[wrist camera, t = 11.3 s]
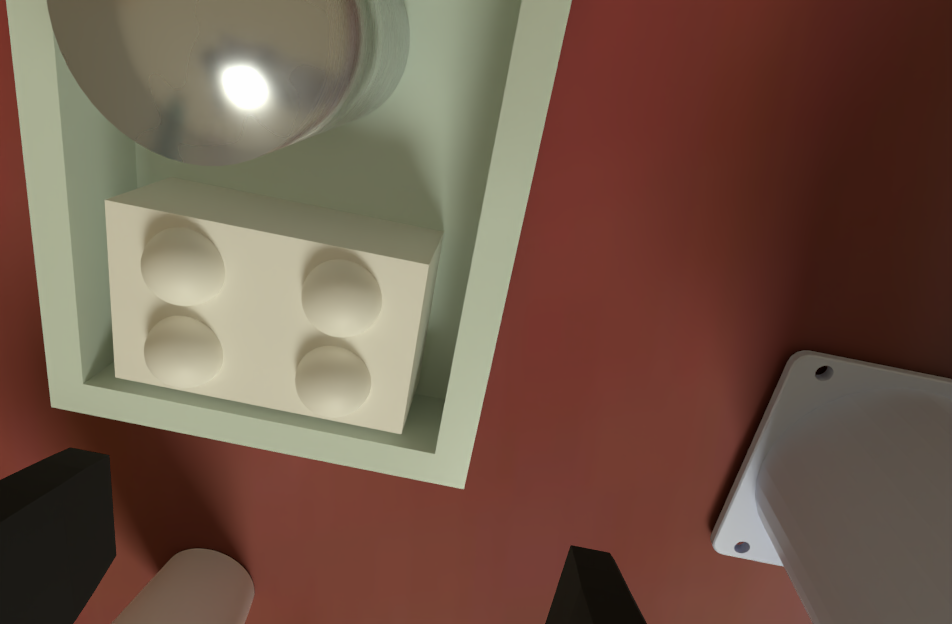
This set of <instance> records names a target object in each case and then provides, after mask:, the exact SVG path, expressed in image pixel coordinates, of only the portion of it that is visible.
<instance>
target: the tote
mask: <svg viewBox="0 0 952 624" xmlns="http://www.w3.org/2000/svg"><path fill="white" fill-rule="evenodd" d="M403 1H404V4H405V8H406V11H407V15H408V21H409V27H410V48H409V55H408V60H407V65H406V68H405V71H404V74H403V76H402V78H401V80H400V82H399V84H398V86H397V87H396V89H395V90H394V92H393V93H392V95H391V96H390V97H389V98H388V99H387V100H386V102H385V103H383V104H382V105H381V106H380V107H379V108H378V109H376V110H375V111H373V112H372V113H370V114H368V115H366V116H364V117H362V118H360V119H357V120H354V121H352V122H349V123H347V124H344V125H341V126H339V127H336V128H333V129H331V130H328V131H326V132H323V133H320V134H318V135H315V136H312V137H310V138H307V139H305V140H302V141H299V142H297V143H294V144H292V145H289V146H286V147H284V148H281V149H278V150H276V151H273V152H271V153H268V154H265V155H263V156H260V157H257V158H255V159H252V160H249V161H245V162H242V163H238V164H232V165H224V166H201V165H194V164H187V163H183V162H180V161H176V160H172V159H169V158H167V157H164V156H162V155H159V154H157V153H155V152H152V151H150V150H149V149H147V148H145V147H143V146H141V145H140V144H138V143H136V142H135V141H133V140H132V139H130V138H129V137H128V136H126V135H125V134H123V133H122V132H121V131H119V130H118V129H117V128H116V127H115V126H114V125H113V124H112V123H110V122H109V121H108V120H107V119H106V118H105V117H104V116H103V115H102V114H101V113H100V112H99V110H98V109H97V108H96V107H95V106H94V105H93V104H92V103H91V101H90V100H89V99H88V97H87V96H86V95H85V93H84V92H83V91H82V89H81V88H80V87H79V85H78V83H77V82H76V80H75V78H74V77H73V75H72V73H71V72H70V70H69V68H68V66H67V64H66V62H65V60H64V58H63V55H62V53H61V51H60V49H59V46H58V43H57V40H56V38H55V35H54V32H53V29H52V25H51V20H50V16H49V12H48V7H47V0H6V5H7V14H8V23H9V32H10V41H11V50H12V59H13V68H14V77H15V86H16V95H17V104H18V113H19V122H20V131H21V140H22V149H23V158H24V167H25V176H26V185H27V194H28V203H29V212H30V221H31V230H32V239H33V248H34V257H35V266H36V275H37V284H38V293H39V302H40V311H41V320H42V329H43V338H44V347H45V356H46V365H47V374H48V383H49V392H50V401H51V407H53V408H58V409H63V410H68V411H73V412H78V413H83V414H88V415H93V416H98V417H103V418H108V419H113V420H118V421H123V422H128V423H134V424H139V425H144V426H149V427H154V428H159V429H164V430H169V431H174V432H179V433H184V434H189V435H194V436H199V437H204V438H209V439H214V440H219V441H224V442H229V443H234V444H239V445H244V446H249V447H254V448H259V449H264V450H269V451H274V452H279V453H284V454H289V455H294V456H299V457H304V458H309V459H314V460H319V461H325V462H330V463H335V464H340V465H345V466H350V467H355V468H360V469H365V470H370V471H375V472H380V473H385V474H390V475H395V476H400V477H405V478H410V479H415V480H420V481H425V482H430V483H435V484H440V485H445V486H450V487H455V488H460V489H464V486H465V481H466V477H467V472H468V468H469V463H470V459H471V454H472V450H473V445H474V441H475V436H476V431H477V427H478V422H479V418H480V413H481V409H482V404H483V400H484V395H485V391H486V386H487V382H488V377H489V373H490V368H491V364H492V359H493V355H494V350H495V346H496V341H497V336H498V332H499V327H500V323H501V318H502V314H503V309H504V305H505V300H506V296H507V291H508V287H509V282H510V278H511V273H512V269H513V264H514V260H515V255H516V250H517V246H518V241H519V237H520V232H521V228H522V223H523V219H524V214H525V210H526V205H527V201H528V196H529V192H530V187H531V183H532V178H533V174H534V169H535V164H536V160H537V155H538V151H539V146H540V142H541V137H542V133H543V128H544V124H545V119H546V115H547V110H548V106H549V101H550V97H551V92H552V88H553V83H554V78H555V74H556V69H557V65H558V60H559V56H560V51H561V47H562V42H563V38H564V33H565V29H566V24H567V20H568V15H569V11H570V6H571V2H572V0H403ZM169 177H173V178H178V179H183V180H188V181H193V182H198V183H203V184H208V185H213V186H218V187H223V188H228V189H233V190H238V191H243V192H248V193H253V194H258V195H263V196H268V197H273V198H278V199H283V200H288V201H293V202H298V203H303V204H308V205H313V206H318V207H323V208H328V209H333V210H338V211H343V212H348V213H353V214H358V215H363V216H368V217H373V218H378V219H383V220H388V221H393V222H398V223H403V224H408V225H413V226H418V227H423V228H428V229H433V230H438V231H443V232H444V236H443V242H442V247H441V253H440V259H439V265H438V271H437V277H436V283H435V289H434V295H433V301H432V307H431V313H430V318H429V324H428V330H427V336H426V342H425V348H424V354H423V360H422V366H421V372H420V378H419V382H418V385H417V388H416V391H415V394H414V398H413V401H412V404H411V407H410V410H409V413H408V416H407V419H406V422H405V425H404V428H403V431H402V434H397V433H392V432H387V431H382V430H377V429H372V428H367V427H362V426H357V425H352V424H347V423H342V422H337V421H332V420H327V419H322V418H317V417H312V416H306V415H301V414H296V413H291V412H286V411H281V410H276V409H271V408H266V407H261V406H256V405H251V404H246V403H241V402H236V401H231V400H226V399H221V398H216V397H211V396H206V395H201V394H196V393H191V392H186V391H181V390H176V389H171V388H166V387H161V386H156V385H151V384H146V383H141V382H136V381H131V380H126V379H121V378H116V377H115V366H114V349H113V333H112V316H111V300H110V283H109V266H108V250H107V233H106V217H105V200H106V199H108V198H111V197H114V196H117V195H120V194H123V193H126V192H129V191H132V190H135V189H137V188H140V187H143V186H146V185H149V184H152V183H155V182H158V181H161V180H164V179H166V178H169Z"/></svg>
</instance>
